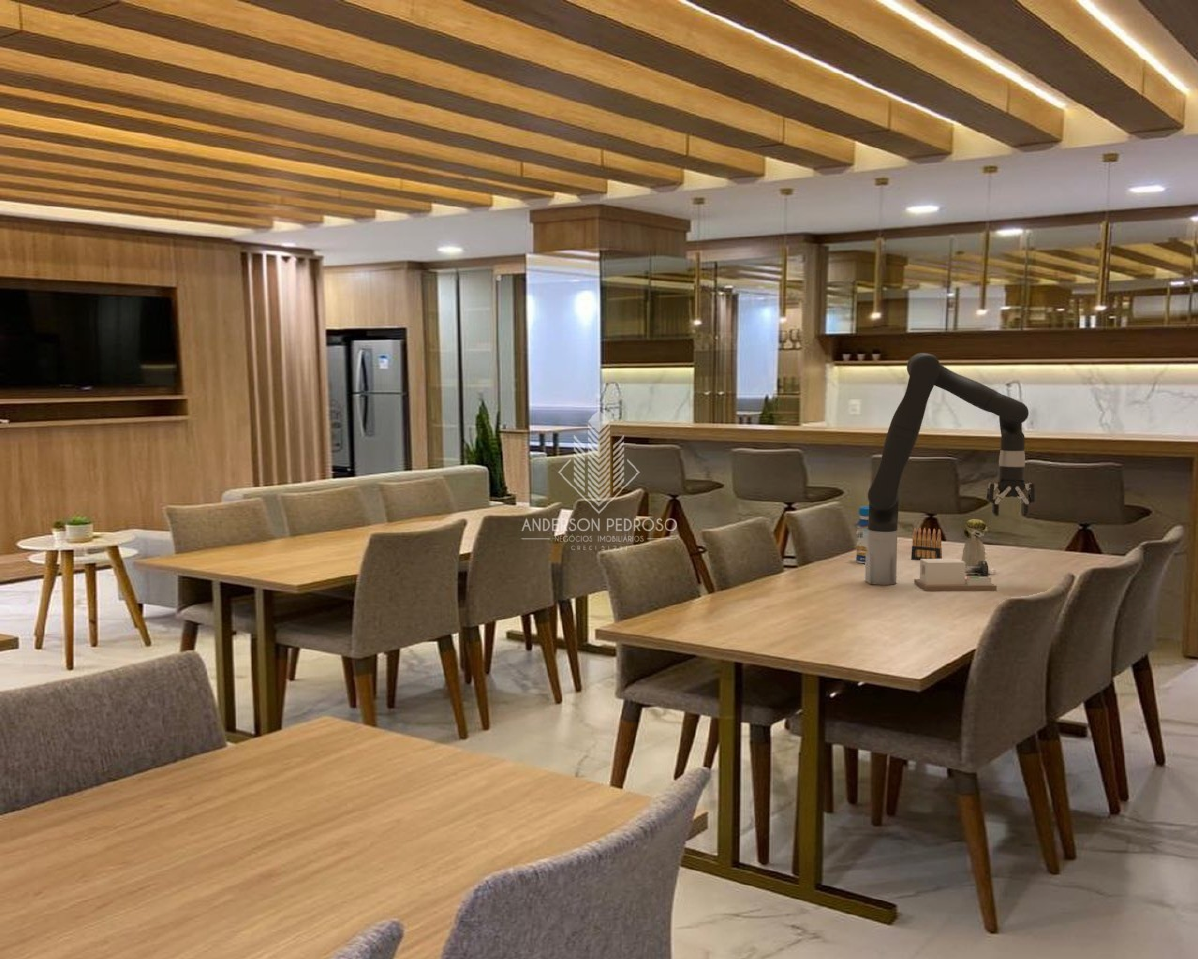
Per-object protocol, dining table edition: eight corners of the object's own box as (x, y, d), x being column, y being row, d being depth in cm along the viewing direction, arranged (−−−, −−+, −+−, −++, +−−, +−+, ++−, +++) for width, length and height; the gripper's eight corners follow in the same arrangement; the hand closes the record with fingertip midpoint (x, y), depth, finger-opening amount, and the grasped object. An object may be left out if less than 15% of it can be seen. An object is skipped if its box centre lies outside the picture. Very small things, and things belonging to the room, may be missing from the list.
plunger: (947, 581, 326) (948, 564, 326) (939, 577, 335) (939, 559, 334) (991, 581, 326) (991, 563, 326) (981, 576, 334) (982, 559, 334)
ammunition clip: (911, 559, 383) (911, 527, 382) (912, 559, 385) (913, 526, 383) (940, 562, 377) (941, 529, 376) (941, 561, 378) (942, 528, 377)
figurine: (948, 573, 356) (949, 519, 354) (965, 567, 365) (967, 515, 363) (982, 577, 347) (983, 522, 346) (999, 572, 357) (1000, 518, 355)
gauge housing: (925, 591, 326) (926, 564, 325) (914, 583, 338) (914, 557, 337) (996, 590, 326) (997, 563, 325) (982, 583, 338) (983, 557, 337)
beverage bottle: (880, 564, 373) (881, 508, 371) (856, 564, 375) (857, 508, 373) (879, 560, 381) (880, 506, 379) (855, 560, 383) (856, 505, 381)
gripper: (993, 465, 327) (991, 517, 328) (1039, 465, 326) (1037, 517, 328) (985, 463, 334) (983, 514, 336) (1030, 463, 334) (1028, 514, 335)
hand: (1009, 515), depth 332 cm, fingers open, 8 cm apart
